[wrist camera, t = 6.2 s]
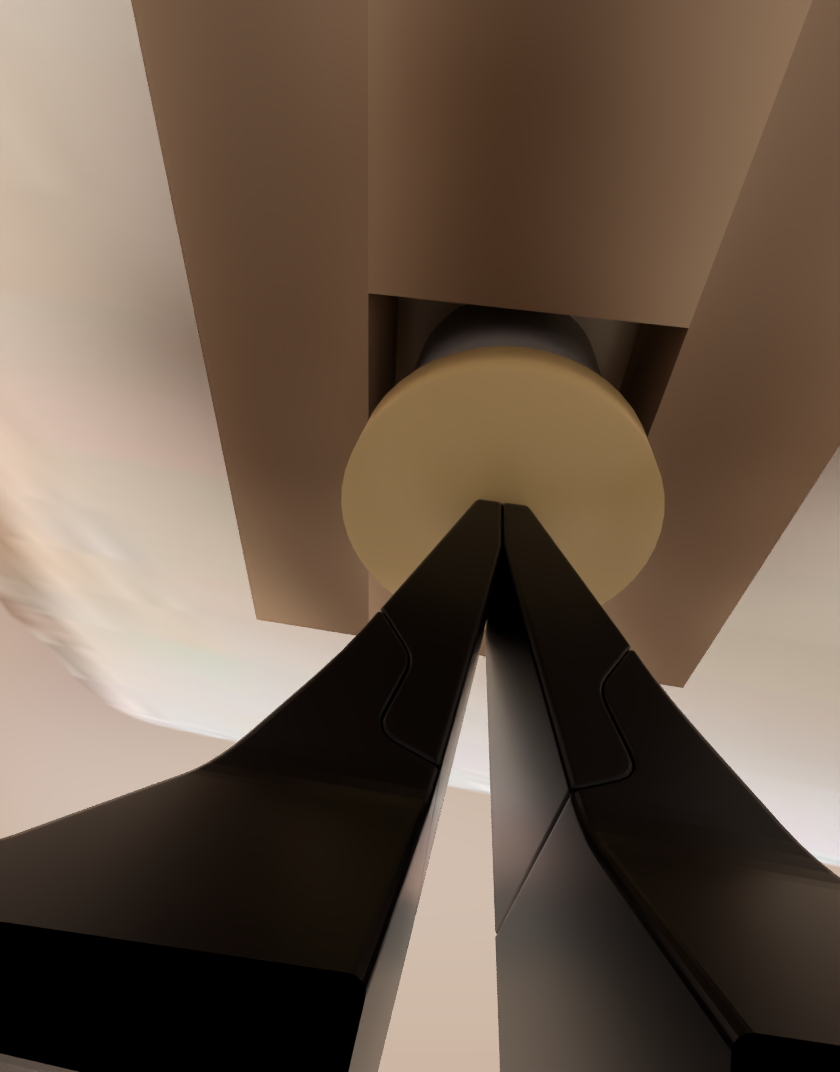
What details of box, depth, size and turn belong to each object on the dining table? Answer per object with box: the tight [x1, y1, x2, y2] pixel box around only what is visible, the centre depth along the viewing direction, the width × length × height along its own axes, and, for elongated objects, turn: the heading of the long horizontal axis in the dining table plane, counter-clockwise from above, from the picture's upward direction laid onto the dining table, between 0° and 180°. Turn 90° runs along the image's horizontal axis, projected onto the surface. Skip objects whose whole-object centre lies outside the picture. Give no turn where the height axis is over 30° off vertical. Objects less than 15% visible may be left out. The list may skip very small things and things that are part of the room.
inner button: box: [341, 304, 665, 629], centre depth 11 cm, size 5×5×6 cm
